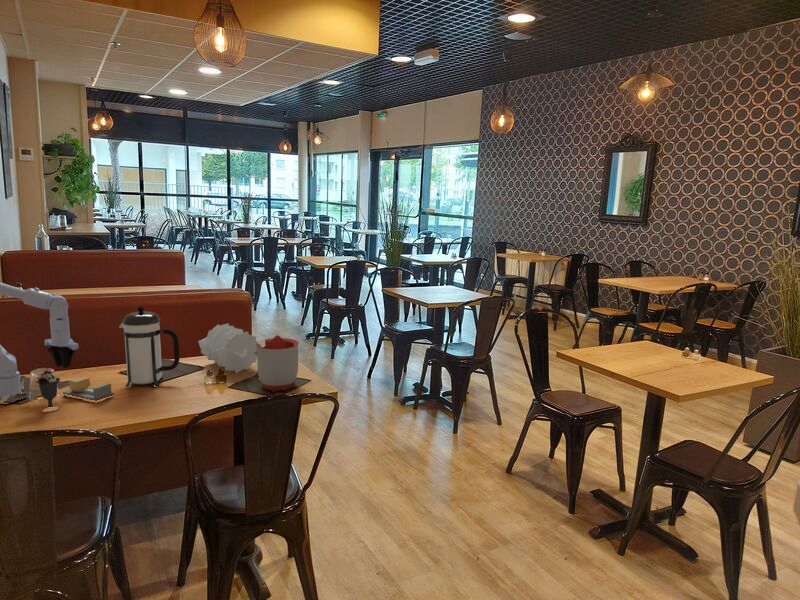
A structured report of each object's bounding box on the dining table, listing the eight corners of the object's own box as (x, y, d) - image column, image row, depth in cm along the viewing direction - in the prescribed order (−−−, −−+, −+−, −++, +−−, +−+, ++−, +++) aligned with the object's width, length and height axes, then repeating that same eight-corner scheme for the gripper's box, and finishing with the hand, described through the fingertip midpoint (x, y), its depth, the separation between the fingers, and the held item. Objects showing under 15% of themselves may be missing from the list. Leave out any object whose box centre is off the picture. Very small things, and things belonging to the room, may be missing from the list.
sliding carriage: (69, 391, 197) (68, 380, 196) (82, 387, 202) (81, 376, 201) (77, 393, 196) (76, 382, 195) (90, 388, 200) (89, 378, 200)
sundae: (57, 404, 189) (53, 361, 187) (65, 409, 185) (61, 366, 183) (35, 409, 184) (31, 366, 182) (43, 415, 180) (39, 370, 178)
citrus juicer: (267, 377, 223) (266, 328, 220) (306, 382, 218) (306, 332, 214) (244, 389, 209) (243, 337, 205) (285, 395, 203) (284, 342, 199)
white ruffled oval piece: (227, 367, 248) (254, 379, 229) (190, 357, 236) (215, 368, 217) (242, 328, 250) (270, 336, 232) (206, 316, 239) (232, 323, 220)
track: (63, 396, 197) (62, 382, 196) (81, 390, 204) (80, 377, 203) (96, 403, 191) (95, 389, 191) (113, 396, 198) (112, 383, 197)
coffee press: (137, 393, 202) (132, 312, 196) (116, 384, 211) (110, 306, 206) (181, 382, 215) (178, 305, 210) (159, 373, 225) (155, 300, 219)
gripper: (84, 329, 199) (87, 366, 201) (56, 325, 204) (59, 361, 206) (66, 333, 192) (69, 371, 195) (37, 329, 198) (41, 366, 200)
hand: (63, 366), depth 200 cm, fingers open, 3 cm apart
